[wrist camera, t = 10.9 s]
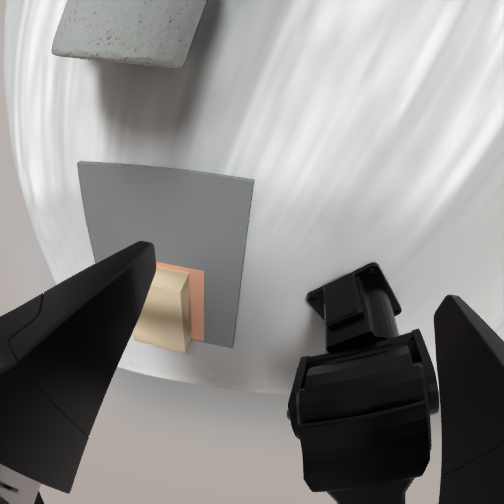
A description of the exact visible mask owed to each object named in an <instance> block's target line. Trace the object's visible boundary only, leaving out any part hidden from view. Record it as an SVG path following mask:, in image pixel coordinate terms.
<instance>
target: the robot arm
mask: <svg viewBox="0 0 504 504" xmlns="http://www.w3.org/2000/svg"><path fill="white" fill-rule="evenodd" d="M373 268H376V269H374V270H371V269H373ZM155 273H156V256H155V247H154V244H153V243H152V242H147V241H138V242H136V243H134V244H132V245H130V246H128V247H126V248H124V249H122V250H120V251H118V252H116V253H115V254H113V255H111V256H109V257H107V258H105V259H103V260H101V261H99V262H98V263H96V264H94V265H92V266H90V267H88V268H86V269H85V270H83V271H81V272H79V273H77V274H75V275H74V276H72V277H70V278H68V279H66V280H65V281H63V282H61V283H59V284H58V285H56V286H54V287H52V288H51V289H49V290H47V291H45V292H44V294H43V293H42V294H40V295H39V296H37V297H35V298H34V299H32V300H30V301H28V302H27V303H25V304H23V305H21V306H20V307H18V308H16V309H14V310H12V311H10V312H8V313H6V314H5V315H3V316H1V317H0V504H44V502H43V500H42V498H41V495H40V493H39V488H40V485H41V483H42V484H44V485H47V486H49V487H52V488H54V489H57V490H60V491H62V492H65V493H68V494H69V493H70V491H71V488H72V485H73V482H74V479H75V476H76V473H77V469H78V467H79V464H80V460H81V457H82V455H83V452H84V449H85V446H86V443H87V440H88V438H89V437H88V436H89V435H90V432H91V429H92V427H93V424H94V422H95V419H96V416H97V414H98V411H99V409H100V406H101V404H102V401H103V398H104V396H105V394H106V391H107V389H108V387H109V384H110V382H111V379H112V377H113V375H114V372H115V370H116V368H117V366H118V363H119V361H120V359H121V356H122V354H123V352H124V350H125V348H126V345H127V343H128V341H129V339H130V337H131V334H132V332H133V330H134V328H135V326H136V324H137V322H138V319H139V317H140V315H141V312H142V309H143V306H144V303H145V301H146V298H147V295H148V292H149V289H150V286H151V284H152V281H153V278H154V276H155ZM311 297H315V298H311ZM307 301H308V302H309V303H310V305H311V306H312V307H313V308H314V309H315V310H316V312H317V313H318V314H319V315H320V316H321V317H322V319H323V320H324V321H325V345H326V354H321V355H316V356H311V357H309V356H305V357H301V359H300V363H299V366H298V368H297V372H296V376H295V380H294V384H293V387H292V391H291V395H290V399H289V402H288V411H287V417H288V419H290V420H291V425H292V428H293V431H294V434H295V436H296V437H297V438H298V439H300V441H301V447H302V454H303V470H304V471H303V473H304V480H305V482H306V483H307V485H308V486H309V488H310V489H311V491H312V492H325V491H326V492H327V493H328V494H329V495H330V496H331V497H332V498H333V499H334V500H335V501H336V502H337V504H405V492H406V490H407V489H408V487H409V486H410V484H411V483H412V481H413V480H414V478H416V477H420V476H422V475H423V473H424V471H425V469H426V467H427V465H428V463H429V460H430V450H431V427H430V415H433V414H436V413H438V410H439V396H438V386H437V380H436V375H435V371H434V367H433V364H432V361H431V358H430V356H429V353H428V350H427V348H426V345H425V343H424V340H423V337H422V335H421V332H420V330H419V329H416V330H412V332H410V333H407V334H403V335H400V336H399V333H398V329H397V325H396V321H395V317H394V316H396V315H398V314H400V313H401V311H402V310H401V306H400V304H399V302H398V300H397V298H396V296H395V294H394V293H393V291H392V289H391V287H390V285H389V283H388V281H387V279H386V278H385V276H384V274H383V272H382V270H381V268H380V267H379V265H378V264H377V263H375V262H373V263H370V264H368V265H366V266H364V267H362V268H360V269H358V270H356V271H354V272H352V273H350V274H348V275H345V276H343V277H341V278H339V279H337V280H335V281H333V282H331V283H329V284H327V285H325V286H322V287H320V288H318V289H316V290H314V291H312V292H310V293H308V295H307ZM434 329H435V344H436V362H437V371H438V380H439V391H440V402H441V403H440V404H441V423H442V467H441V468H442V469H441V483H440V496H439V504H504V341H503V340H502V339H501V338H500V337H499V336H498V335H497V334H496V333H495V332H494V331H493V330H492V329H491V328H490V327H489V326H488V325H487V324H486V322H485V321H484V320H483V319H482V318H481V317H480V316H479V315H478V314H477V313H476V312H475V311H473V310H472V309H471V308H470V307H469V306H468V305H467V304H466V303H465V302H464V301H463V300H462V299H461V298H460V297H459V296H456V295H447V296H446V297H445V298H444V300H443V301H442V303H441V304H440V306H439V307H438V309H437V310H436V312H435V314H434Z"/></svg>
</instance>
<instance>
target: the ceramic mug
mask: <svg viewBox="0 0 504 504" xmlns="http://www.w3.org/2000/svg"><path fill="white" fill-rule="evenodd" d="M206 1H207V0H68V2H67V4H66V7H65V9H64V12H63V14H62V17H61V20H60V23H59V26H58V28H57V31H56V34H55V37H54V40H53V45H52V53H53V54H54V55H57V56H61V57H71V58H80V59H92V60H100V61H107V62H115V63H124V64H139V65H145V66H154V67H165V68H180V67H182V66H183V65H184V64H185V61H186V58H187V54H188V51H189V48H190V45H191V43H192V40H193V37H194V34H195V31H196V29H197V26H198V23H199V20H200V18H201V15H202V12H203V9H204V7H205V4H206Z"/></svg>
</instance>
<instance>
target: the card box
mask: <svg viewBox="0 0 504 504" xmlns="http://www.w3.org/2000/svg"><path fill="white" fill-rule="evenodd" d="M132 333H133V336H134V340H135V341H139V342H142V343H146V344H149V345H153V346H157V347H160V348H164V349H168V350H172V351H176V352H180V353H184V354H186V351H187V348H188V346H189V343H190V340H191V337H192V326H191V306H190V279H189V273H188V272H183V271H178V270H173V269H168V268H163V267H158V266H156V273H155V276H154V278H153V281H152V284H151V286H150V289H149V292H148V295H147V298H146V301H145V303H144V306H143V309H142V312H141V315H140V317H139V319H138V322H137V324H136V326H135V328H134V330H133V332H132Z"/></svg>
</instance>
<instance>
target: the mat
mask: <svg viewBox="0 0 504 504" xmlns="http://www.w3.org/2000/svg"><path fill="white" fill-rule="evenodd" d="M77 166H78V174H79V181H80V188H81V195H82V201H83V207H84V212H85V218H86V223H87V228H88V233H89V237H90V242H91V246H92V251H93V255H94V259H95V263H98V262H99V261H101V260H103V259H105V258H107V257H109V256H111V255H113V254H115V253H116V252H118V251H120V250H122V249H124V248H126V247H128V246H130V245H132V244H134V243H136V242H138V241H147V242H152V243H153V244H154V247H155V256H156V266H158V267H163V268H168V269H173V270H178V271H183V272H188V273H189V279H190V306H191V326H192V337H191V339H192V340H197V341H201V342H206V343H211V344H215V345H220V346H225V347H230V348H233V342H234V333H235V325H236V317H237V309H238V301H239V293H240V285H241V277H242V269H243V261H244V253H245V246H246V238H247V230H248V222H249V214H250V207H251V199H252V191H253V184H254V180H253V179H247V178H240V177H234V176H227V175H220V174H212V173H205V172H197V171H189V170H180V169H172V168H162V167H152V166H141V165H130V164H117V163H102V162H84V161H80V162H78V163H77Z"/></svg>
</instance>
